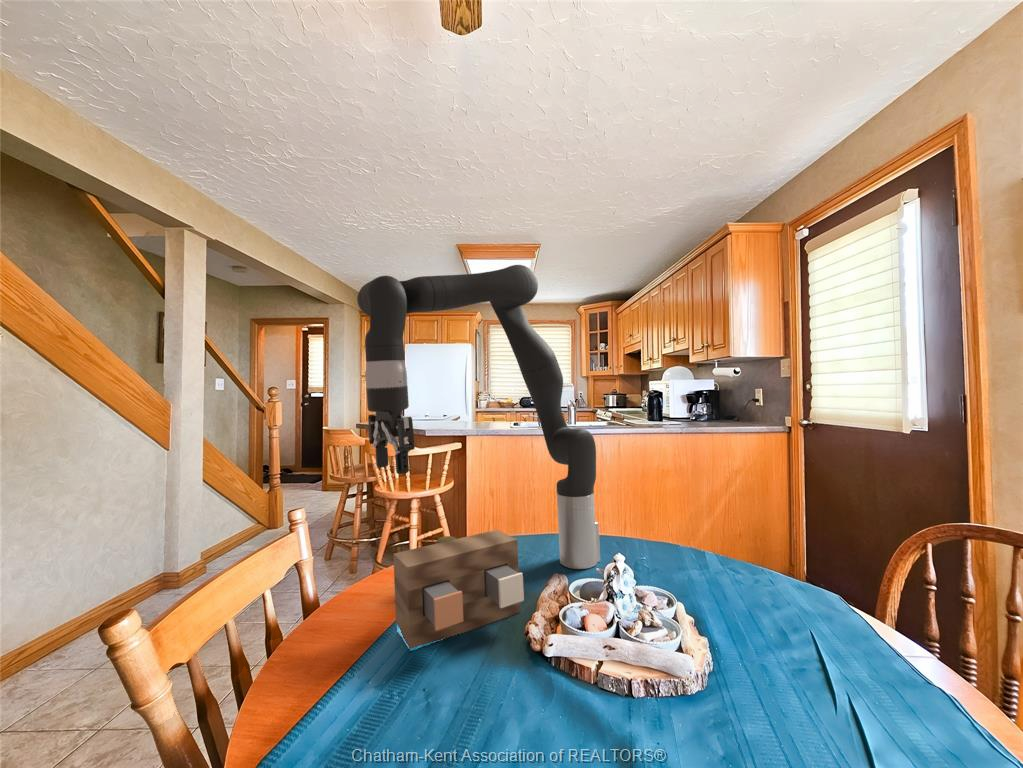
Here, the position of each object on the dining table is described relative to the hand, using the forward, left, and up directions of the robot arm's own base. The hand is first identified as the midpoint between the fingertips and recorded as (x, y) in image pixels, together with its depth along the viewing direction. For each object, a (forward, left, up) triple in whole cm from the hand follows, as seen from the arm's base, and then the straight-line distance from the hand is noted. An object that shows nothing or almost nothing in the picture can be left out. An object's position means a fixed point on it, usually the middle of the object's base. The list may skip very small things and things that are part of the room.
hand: (392, 469), depth 81 cm
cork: (-14, -9, -29) cm, 34 cm away
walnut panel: (-10, +6, -29) cm, 31 cm away
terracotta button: (-4, +11, -24) cm, 27 cm away
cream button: (-16, +11, -24) cm, 31 cm away
